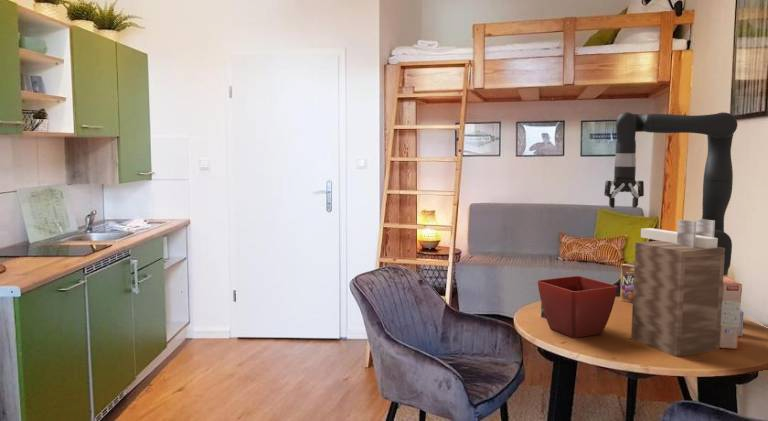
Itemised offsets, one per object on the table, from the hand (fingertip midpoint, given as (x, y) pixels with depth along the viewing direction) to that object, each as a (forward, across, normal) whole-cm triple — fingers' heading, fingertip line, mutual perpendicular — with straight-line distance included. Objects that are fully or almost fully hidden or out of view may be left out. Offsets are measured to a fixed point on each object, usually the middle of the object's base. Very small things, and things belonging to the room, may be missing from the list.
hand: (623, 207), depth 223 cm
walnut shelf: (+40, 0, -42) cm, 58 cm away
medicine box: (+40, +24, -31) cm, 56 cm away
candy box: (+40, +10, +11) cm, 43 cm away
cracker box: (+40, +16, -40) cm, 59 cm away
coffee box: (+40, -30, -11) cm, 51 cm away
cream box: (+8, +3, -36) cm, 37 cm away
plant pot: (+40, -27, -28) cm, 56 cm away
